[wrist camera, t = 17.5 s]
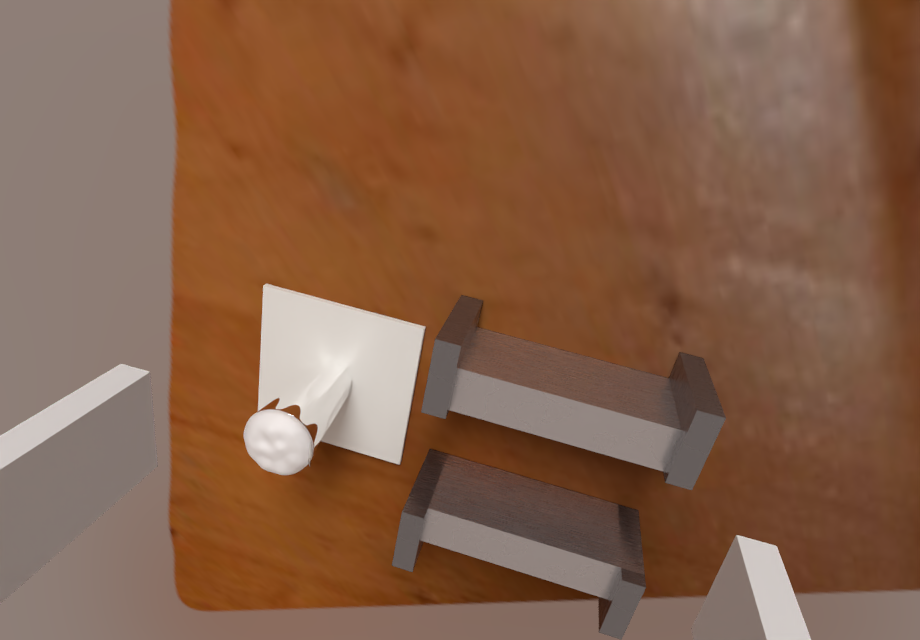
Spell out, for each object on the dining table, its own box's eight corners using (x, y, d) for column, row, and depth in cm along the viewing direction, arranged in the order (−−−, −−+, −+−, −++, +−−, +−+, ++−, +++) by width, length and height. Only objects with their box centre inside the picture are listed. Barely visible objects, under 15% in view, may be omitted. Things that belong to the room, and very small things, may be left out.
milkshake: (375, 406, 43) (317, 495, 34) (310, 405, 44) (237, 490, 35) (365, 352, 41) (301, 430, 32) (297, 352, 43) (217, 427, 34)
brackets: (703, 358, 37) (725, 418, 30) (617, 558, 44) (621, 639, 38) (461, 294, 38) (435, 339, 32) (419, 498, 46) (391, 565, 40)
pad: (425, 326, 40) (424, 329, 40) (401, 461, 45) (399, 464, 45) (266, 283, 41) (263, 285, 41) (260, 419, 46) (257, 422, 46)
